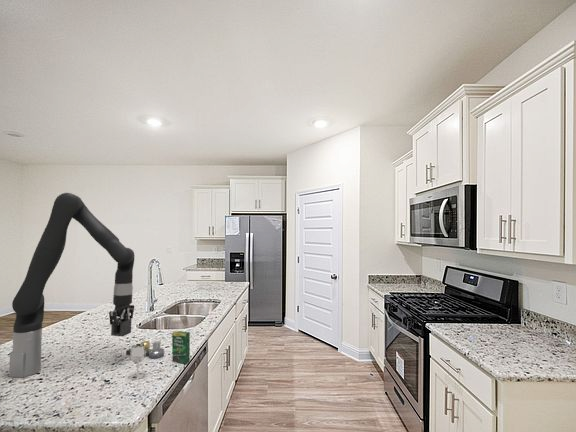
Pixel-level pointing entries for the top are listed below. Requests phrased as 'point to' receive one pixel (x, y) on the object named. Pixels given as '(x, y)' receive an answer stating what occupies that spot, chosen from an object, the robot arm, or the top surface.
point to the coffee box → (181, 347)
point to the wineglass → (137, 357)
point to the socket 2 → (146, 344)
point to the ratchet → (152, 351)
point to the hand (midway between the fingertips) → (121, 331)
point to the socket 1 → (122, 327)
